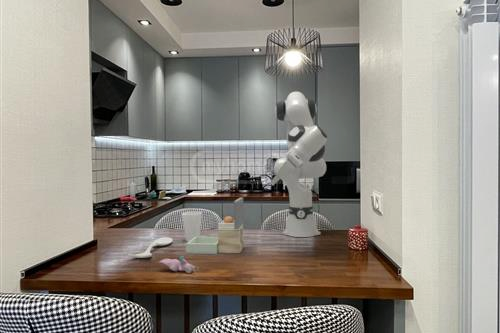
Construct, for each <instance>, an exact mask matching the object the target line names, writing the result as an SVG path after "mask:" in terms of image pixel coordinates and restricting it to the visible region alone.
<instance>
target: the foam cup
mask: <svg viewBox="0 0 500 333" xmlns="http://www.w3.org/2000/svg"><path fill="white" fill-rule="evenodd" d="M181 216H182V217H181V219H182V223H183V229H184V235H185V236H184V237H185V240H186V242H189V241H190V240H192V239H193V238H194V237H201V236H200V235H201V225H202V218H203V213H202V212H201V211H187V212H182V214H181Z"/></svg>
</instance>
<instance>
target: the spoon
mask: <svg viewBox="0 0 500 333" xmlns="http://www.w3.org/2000/svg"><path fill="white" fill-rule="evenodd" d="M172 242H173V238H172V237H168V236H165V237H159V238H157V239H154V240H153V241H152V242H151V243H150V244H149V246H148V247H147V249H146V250H145V251H143V252H141V253H140V252H139V253H134V254H133V253H129V254H127V255H128V256H127V257H128V258H129V257H131V258H136V259H139V258H140V259H147V258H150V257H151V256H153V254H152V252H151V249H152V248H153V247H165V246H166V245H170V244H171V243H172Z"/></svg>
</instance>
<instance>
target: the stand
mask: <svg viewBox="0 0 500 333" xmlns="http://www.w3.org/2000/svg"><path fill="white" fill-rule="evenodd" d="M217 237H218V253H220V254H221V253H222V254H241V253H242V251H243V249H244V226H243V227H242V228H241V229H240V230H218V231H217ZM218 253H217V254H218Z"/></svg>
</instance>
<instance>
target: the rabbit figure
mask: <svg viewBox="0 0 500 333" xmlns="http://www.w3.org/2000/svg"><path fill="white" fill-rule="evenodd" d="M158 263H162V264H163V265H165V266H167V267H168V268H169V269H170V270H171V271H174V272H178V271H180V272H181V271H183V272H184V271H185V272H186V273H187V274H191V273H193V274H195V273H196V269H197V272H199V268H200V267H199V266H197V265H195V266H194V265H193V264H191V263H189V262H188V261H187V260H186V259H185V256H184V255H181V256H180V257H179V259H177V258H174V259H173V258H172V259H171V258H164V259H161V260H160V261H158ZM181 263H184V265H182V264H181Z"/></svg>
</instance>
